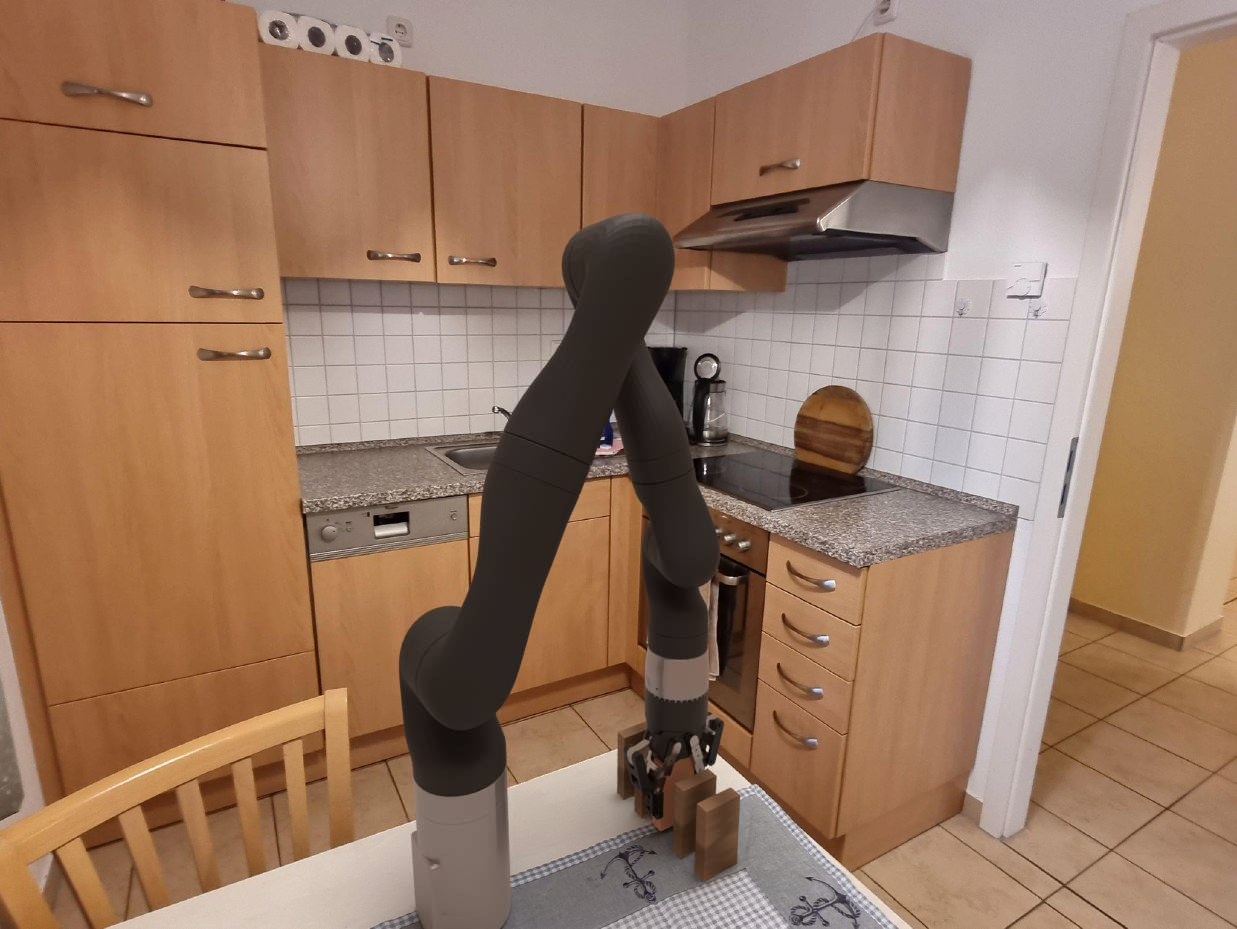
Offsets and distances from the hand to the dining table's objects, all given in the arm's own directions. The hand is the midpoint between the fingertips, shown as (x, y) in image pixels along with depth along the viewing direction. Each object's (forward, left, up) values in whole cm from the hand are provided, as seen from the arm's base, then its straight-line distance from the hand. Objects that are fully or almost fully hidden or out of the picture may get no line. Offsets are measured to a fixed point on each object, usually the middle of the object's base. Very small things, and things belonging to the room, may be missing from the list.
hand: (673, 805), depth 85 cm
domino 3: (0, 0, -2) cm, 2 cm away
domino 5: (0, -8, -3) cm, 8 cm away
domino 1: (0, +8, -3) cm, 8 cm away
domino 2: (0, +4, -3) cm, 5 cm away
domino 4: (0, -4, -3) cm, 5 cm away
